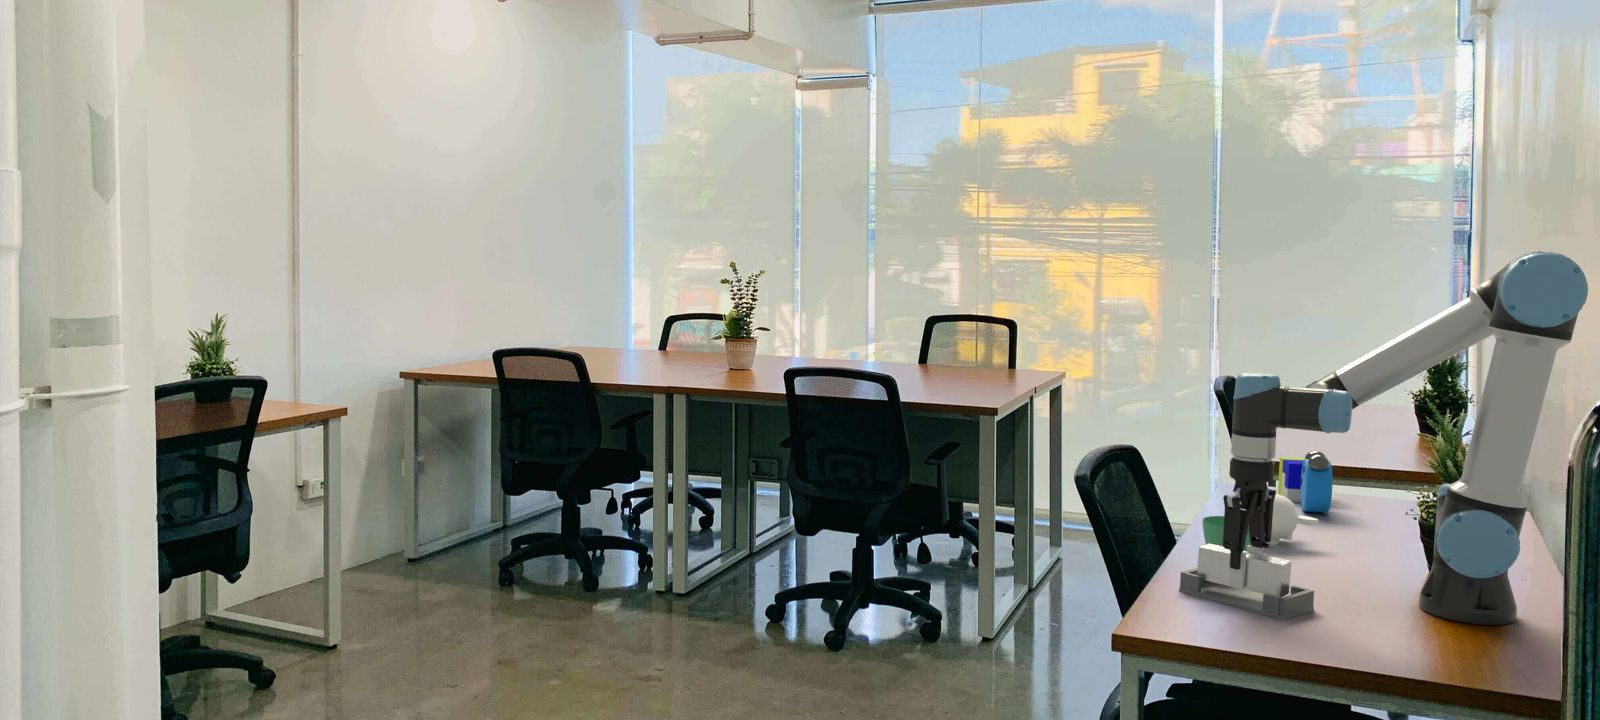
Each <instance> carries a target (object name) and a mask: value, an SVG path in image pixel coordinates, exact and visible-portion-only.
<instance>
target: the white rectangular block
mask: <svg viewBox="0 0 1600 720" xmlns="http://www.w3.org/2000/svg"><path fill="white" fill-rule="evenodd" d="M1244 552H1246V551H1244ZM1292 562H1293V561H1292V560H1288V559H1284V558H1283V559H1282V558H1278V557H1275V556H1274V557H1273V556H1269V555H1265V554H1264V555H1263V554H1262V555H1260V554H1255V553H1251V552H1247V554H1246V570H1245V586H1244V588H1240V587H1237V586H1233V585H1229V571H1230V550H1229V549H1225V548H1224V547H1223V546H1218V545H1213V544H1209V543H1208V544H1206V543H1205V544H1202V545H1201V546H1198V557H1197V567H1196V568H1197V575H1199V576H1202V580H1206V581H1210V582H1214V583H1219V584H1223V585H1227V586H1231V587H1235V588H1240V589H1244V590H1248V591H1252V592H1257V593H1261V594H1266V593H1267V594H1271V595H1275V596H1279V597H1286V596H1288V595H1289V594H1290V587H1291V586H1290V585H1291V584H1290V583H1291V573H1292V572H1291V571H1292Z"/></svg>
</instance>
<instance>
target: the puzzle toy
mask: <svg viewBox="0 0 1600 720" xmlns="http://www.w3.org/2000/svg"><path fill="white" fill-rule="evenodd" d="M1304 460H1305V457H1288V456H1287V457H1286V456H1280V457H1279V464H1278V465H1279V466H1278V481H1277V482H1278V485H1277V487H1278V488H1277V494H1278V493H1279V494H1278V495H1281V496H1284V497H1286V498H1288V499H1289V500H1290V501H1291V502H1296V503H1297V502H1298V503H1301V474H1302V466H1303V462H1304Z"/></svg>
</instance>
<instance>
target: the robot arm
mask: <svg viewBox="0 0 1600 720" xmlns="http://www.w3.org/2000/svg"><path fill="white" fill-rule="evenodd" d="M1588 293H1589V283H1588V281H1587V278H1586V275H1585V272H1584V271H1583V270H1582V268H1581V267H1580V266H1579V264H1577V263H1576V262H1575V261H1574V260H1572V258H1570V257H1567V256H1566V255H1564V254H1561V253H1558V252H1553V251H1541V250H1540V251H1538V250H1537V251H1533V252H1530V253H1525V254H1524V255H1520V256H1517V257H1516V258H1515V259H1512V260H1511V261H1510V262H1508V263H1507V264H1506V265H1505V266H1504V267H1502V269H1500V270H1499V271H1497V272H1496V273H1495V274H1493V275H1492V276H1491V277H1490V278H1487V280H1485V281H1483V282H1482V283H1480V284H1478V285H1477V286H1475V287H1473V288H1471V290H1470V293H1469V295H1468V297H1467V298H1465V299H1463V300H1461V301H1460V302H1458V303H1456V304H1454V305H1452V306H1450V307H1448V308H1447V309H1445V310H1442V312H1440V313H1437V314H1436V315H1434V316H1433V317H1430V318H1428V319H1426V320H1425V321H1423V322H1422V323H1419V324H1418V325H1416V326H1414V327H1413V328H1411V329H1409V330H1407V331H1405V332H1403V333H1402V334H1400V335H1398V336H1396V337H1395V338H1393V339H1391V340H1389V341H1387V342H1385V343H1384V344H1382V345H1380V346H1378V347H1376V348H1374V349H1372V350H1371V351H1369V352H1367V353H1365V354H1364V355H1361V356H1360V357H1359V358H1356V359H1355V360H1353V361H1350V362H1349V363H1347V364H1346V365H1344V366H1342V367H1340V368H1338V369H1336V370H1335V371H1333V372H1331V373H1329V374H1328V375H1325V376H1324V377H1321V378H1320V379H1319V380H1315V381H1312V382H1310V384H1308V385H1306V386H1305V387H1298V386H1297V387H1296V386H1295V387H1293V386H1292V387H1291V386H1285V385H1281V384H1282V383H1281V378H1280V376H1279V375H1278V374H1273V373H1267V372H1243V373H1240V374H1238V375H1237V376H1236V378H1235V385H1234V386H1235V387H1234V394H1233V397H1232V399H1233V405H1232V427H1231V439H1230V441H1231V447H1230V454H1231V455H1232V457H1231V458H1230V460H1229V472H1228V473H1229V477H1230V478H1231V479H1233V480H1234V482H1235V483H1234V486H1233V489H1232V490H1233V491H1232V493H1231V494H1224V495H1223V497H1222V498H1223V499H1222V500H1223V506H1224V514H1223V516H1224V531H1223V547H1224V548H1225V549H1229V550H1230V571H1229V585H1233V586H1237V587H1240V588H1244V586H1245V570H1246V554H1247V552H1251V553H1255V554H1260V555H1263V550H1264V549H1263V548H1265V549H1268V548H1269V547H1270V545H1269V544H1268V543H1266V542H1270V541H1271V533H1272V519H1273V504H1274V499H1275V495H1276V494H1277V491H1276V489H1273V488H1269V486H1268V483H1270V482H1272V481H1273V480H1274V477H1275V476H1274V475H1275V462H1274V461H1273V459H1274V458H1276V449H1277V448H1276V444H1277V430H1278V428H1280V429H1292V430H1303V431H1310V432H1311V431H1313V432H1319V433H1322V432H1323V433H1325V434H1331V433H1339V434H1344V433H1347V432H1348V431H1350V428H1351V424H1352V416H1353V415H1352V413H1353V410H1354V409H1356V408H1357V407H1359V406H1361V405H1363V404H1365V403H1367V402H1368V401H1371V400H1372V399H1374V398H1376V397H1378V396H1380V395H1383V394H1384V393H1386V392H1387V391H1389V390H1391V389H1393V388H1395V387H1397V386H1398V385H1400V384H1403V383H1405V382H1406V381H1408V380H1410V379H1412V378H1414V377H1416V376H1417V375H1420V374H1421V373H1424V372H1426V371H1428V370H1430V368H1433V367H1435V366H1436V365H1439V364H1441V363H1443V362H1444V361H1446V360H1448V359H1449V358H1451V357H1454V356H1455V355H1458V354H1459V353H1461V352H1463V351H1465V350H1467V349H1469V348H1471V347H1473V346H1475V345H1476V344H1479V343H1480V342H1482V341H1484V340H1486V339H1488V338H1489V337H1491V336H1492V337H1494V338H1495V344H1494V347H1493V352H1492V356H1491V359H1490V363H1489V367H1488V371H1487V375H1486V379H1485V383H1484V387H1483V389H1482V394H1481V399H1480V402H1479V406H1478V411H1477V415H1476V417H1475V422H1474V427H1473V430H1472V434H1471V438H1470V442H1469V445H1468V450H1467V454H1466V458H1465V461H1464V466H1463V468H1462V474H1461V477H1460V478H1459V479H1458V480H1456V481H1455V482H1452V483H1442V484H1441V485H1440V486H1439V487H1438V491H1437V496H1436V497H1435V501H1436V514H1435V527H1434V529H1435V530H1434V544H1433V545H1434V546H1433V560H1432V566H1431V569H1430V571H1429V573H1428V575H1427V578H1426V580H1425V582H1424V584H1423V586H1422V588H1421V590H1420V593H1419V602H1418V606H1419V608H1420V609H1421V610H1422V611H1424V612H1426V613H1427V614H1430V615H1433V616H1436V617H1439V618H1443V619H1447V620H1450V621H1454V622H1455V621H1456V622H1459V623H1460V622H1461V623H1465V624H1466V623H1467V624H1472V625H1473V624H1474V625H1486V626H1500V625H1502V626H1503V625H1508V624H1509V625H1510V624H1513V623H1515V622H1516V621H1517V612H1518V607H1517V603H1516V599H1515V596H1514V593H1513V588H1512V586H1511V583H1510V579H1509V578H1510V577H1509V569H1510V568H1511V567H1512V566H1513V565H1514V564H1515V562H1516V561H1517V559H1518V558H1519V554H1520V551H1521V546H1520V545H1521V541H1520V535H1521V532H1522V527H1523V524H1524V520H1525V516H1526V512H1527V509H1528V503H1527V501H1526V500H1525V498H1523V497H1524V496H1522V493H1521V489H1522V484H1523V480H1524V477H1525V473H1526V469H1527V465H1528V461H1529V458H1530V455H1531V450H1532V447H1533V443H1534V439H1535V435H1536V432H1537V427H1538V423H1539V420H1540V416H1541V412H1542V408H1543V404H1544V400H1545V397H1546V393H1547V390H1548V386H1549V383H1550V377H1551V374H1552V371H1553V367H1554V363H1555V359H1556V355H1557V352H1558V351H1559V349H1561V348H1563V347H1565V346H1567V345H1568V344H1570V343H1572V338H1573V334H1574V330H1575V328H1576V323H1577V319H1578V316H1579V313H1580V312H1581V310H1582V309H1583V306H1584V305H1585V304H1586V302H1587V298H1588ZM1265 500H1266V501H1265ZM1242 509H1246V510H1242ZM1248 525H1249V535H1250V545H1248V546H1247V552H1244V546H1245V541H1246V536H1247V530H1248ZM1265 534H1266V535H1265Z"/></svg>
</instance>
